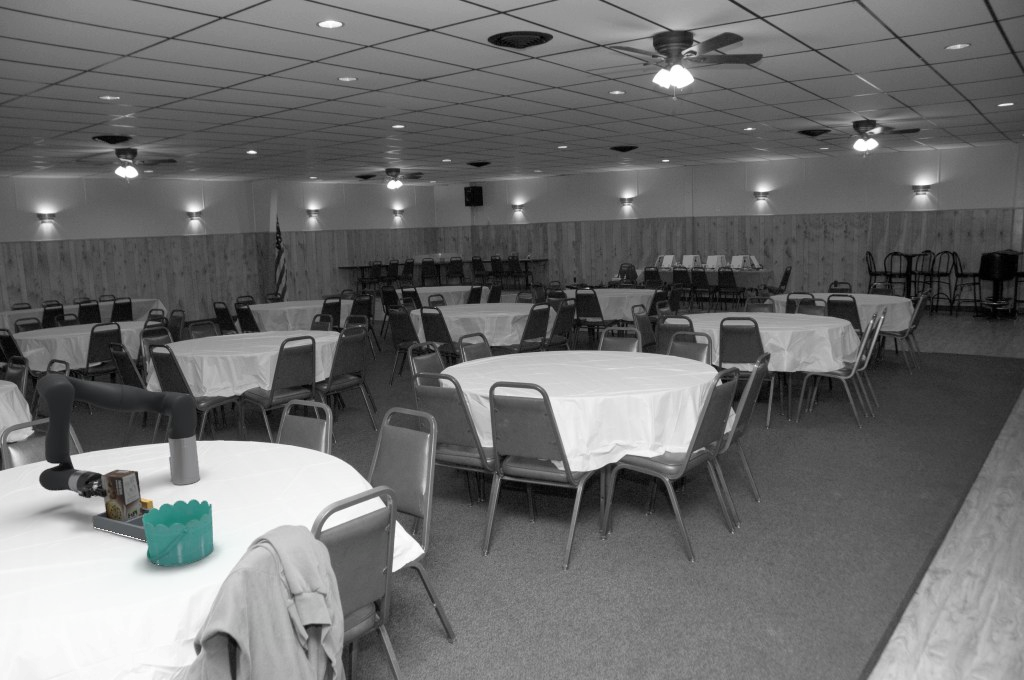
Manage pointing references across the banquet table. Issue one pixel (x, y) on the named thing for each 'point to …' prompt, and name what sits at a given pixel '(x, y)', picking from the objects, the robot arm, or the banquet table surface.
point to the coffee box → (122, 495)
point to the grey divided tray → (128, 527)
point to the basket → (179, 532)
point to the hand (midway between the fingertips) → (118, 489)
